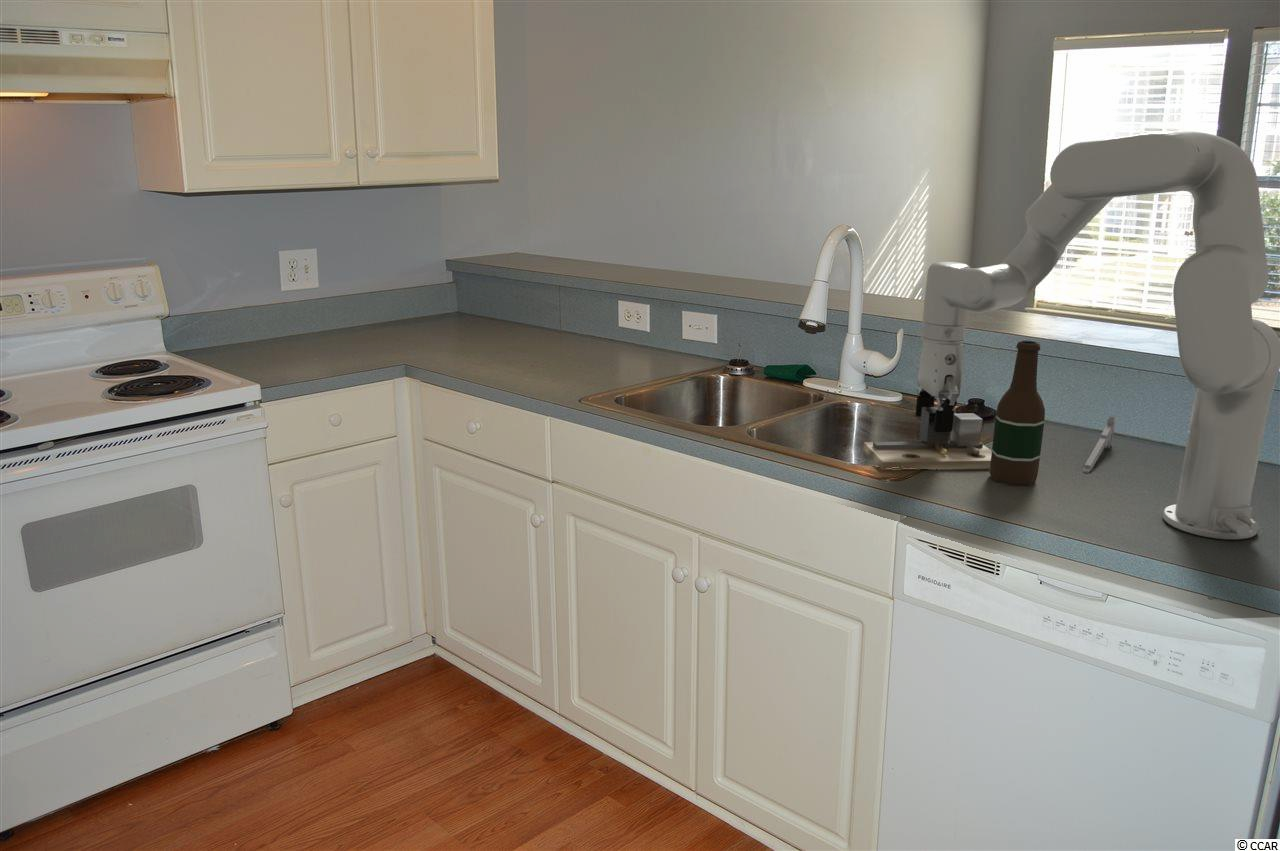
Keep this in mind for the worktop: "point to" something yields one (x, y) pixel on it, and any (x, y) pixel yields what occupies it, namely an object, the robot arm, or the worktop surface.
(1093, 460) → the caliper
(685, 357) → the worktop surface
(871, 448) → the board
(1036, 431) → the beer bottle
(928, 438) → the block
